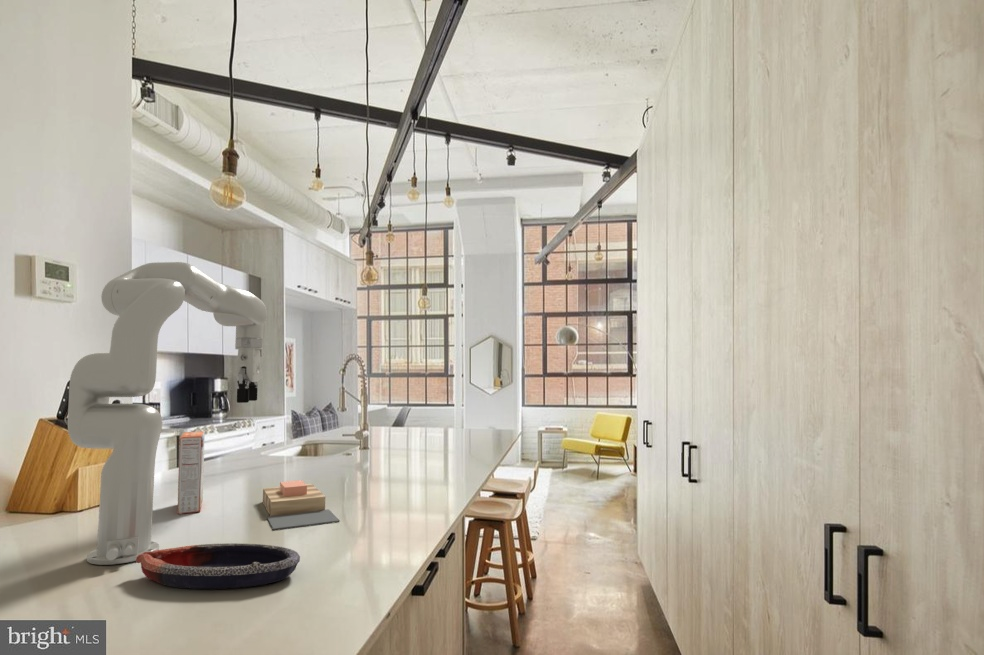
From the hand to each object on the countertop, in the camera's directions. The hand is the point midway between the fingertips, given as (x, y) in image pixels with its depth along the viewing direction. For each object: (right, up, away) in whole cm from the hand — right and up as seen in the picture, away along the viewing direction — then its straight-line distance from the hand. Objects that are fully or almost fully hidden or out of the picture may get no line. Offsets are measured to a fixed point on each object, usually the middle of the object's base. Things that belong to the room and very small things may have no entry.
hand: (247, 401), depth 166 cm
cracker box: (-12, -29, -9) cm, 33 cm away
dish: (+22, -25, -62) cm, 71 cm away
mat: (+24, -28, -22) cm, 43 cm away
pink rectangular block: (+16, -25, -7) cm, 31 cm away
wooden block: (+16, -29, -8) cm, 34 cm away
